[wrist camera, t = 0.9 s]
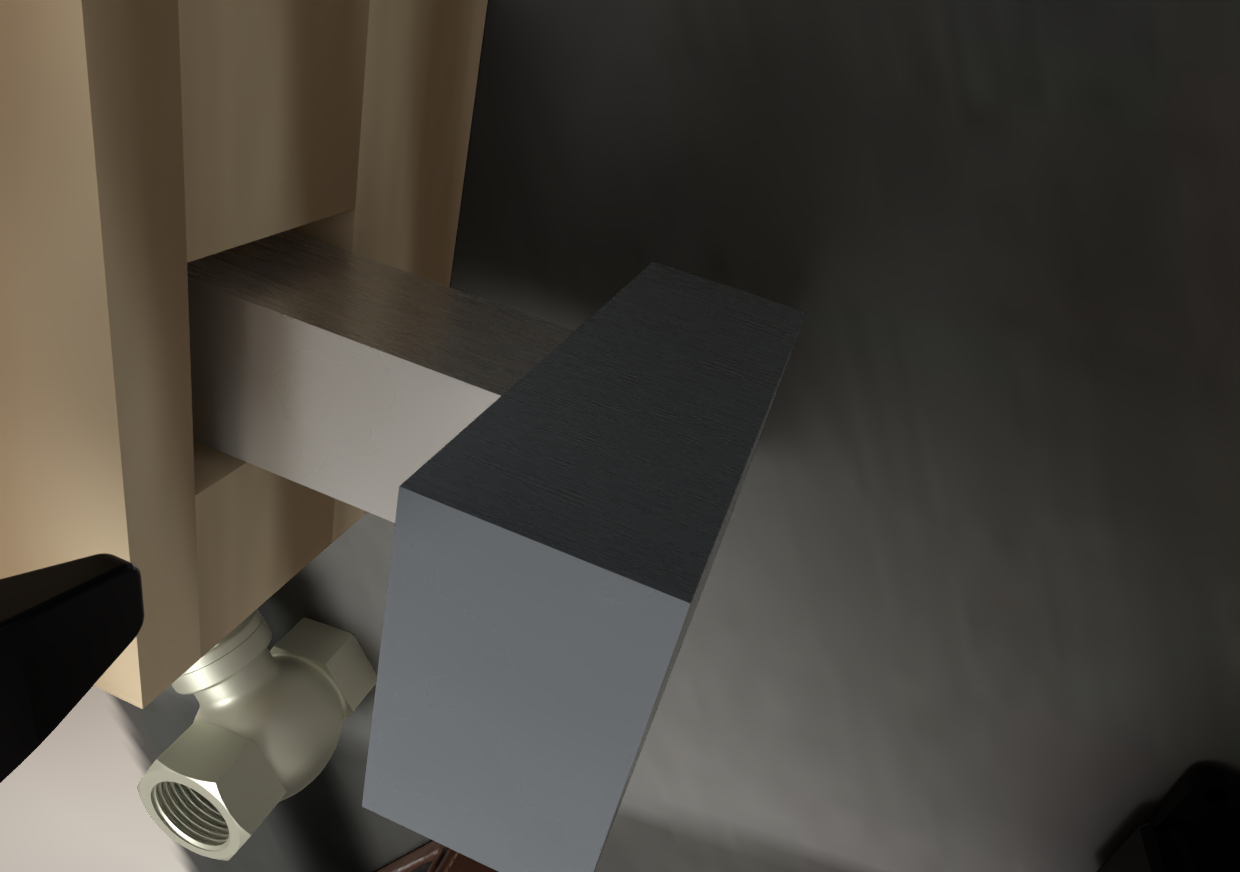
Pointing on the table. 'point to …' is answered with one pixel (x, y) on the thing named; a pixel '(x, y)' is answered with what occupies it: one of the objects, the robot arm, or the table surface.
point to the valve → (254, 730)
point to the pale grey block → (500, 510)
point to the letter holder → (435, 861)
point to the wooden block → (183, 232)
